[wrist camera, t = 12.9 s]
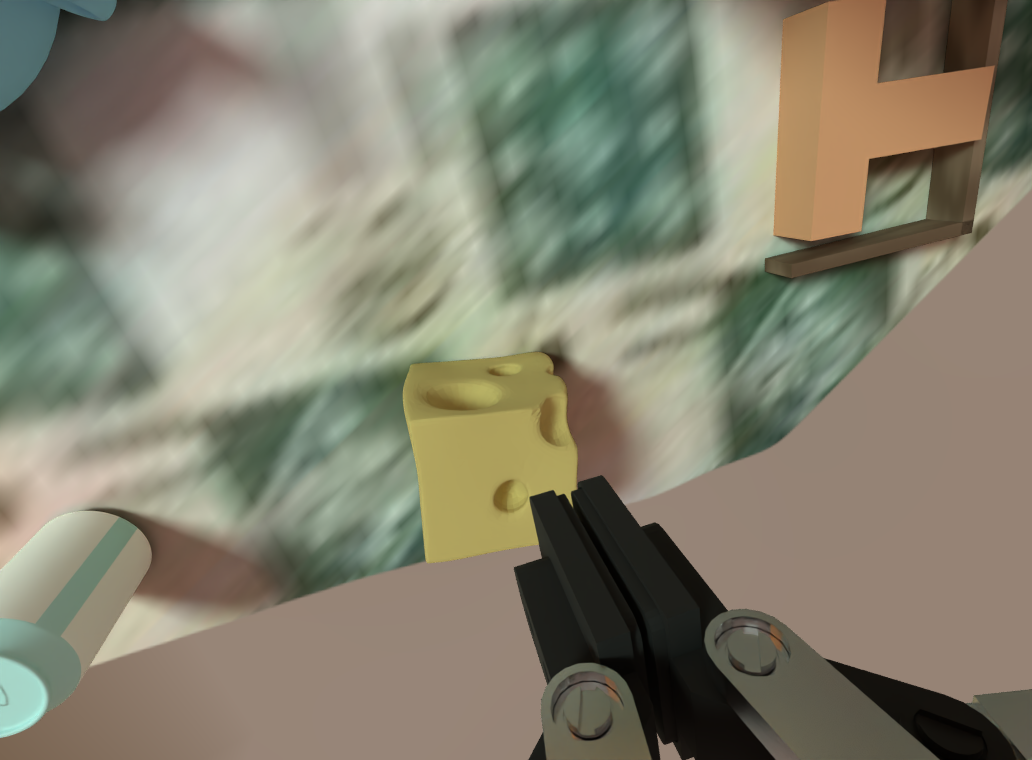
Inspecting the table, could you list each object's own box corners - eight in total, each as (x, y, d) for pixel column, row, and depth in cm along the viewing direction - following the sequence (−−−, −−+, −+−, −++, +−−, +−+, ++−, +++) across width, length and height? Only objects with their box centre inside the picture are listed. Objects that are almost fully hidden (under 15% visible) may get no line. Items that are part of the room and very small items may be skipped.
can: (107, 603, 39) (-2, 769, 28) (14, 549, 36) (-148, 711, 25) (178, 545, 39) (95, 690, 28) (89, 486, 36) (-42, 622, 25)
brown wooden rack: (765, -41, 33) (799, -60, 31) (973, -74, 35) (1022, -95, 33) (764, 271, 41) (791, 278, 39) (935, 228, 43) (971, 232, 41)
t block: (782, 19, 35) (828, 1, 31) (949, -2, 37) (1010, -21, 33) (773, 235, 40) (811, 241, 37) (918, 206, 42) (968, 209, 39)
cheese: (542, 347, 40) (588, 398, 30) (541, 472, 44) (581, 551, 34) (400, 358, 38) (403, 417, 28) (412, 488, 41) (419, 577, 32)
